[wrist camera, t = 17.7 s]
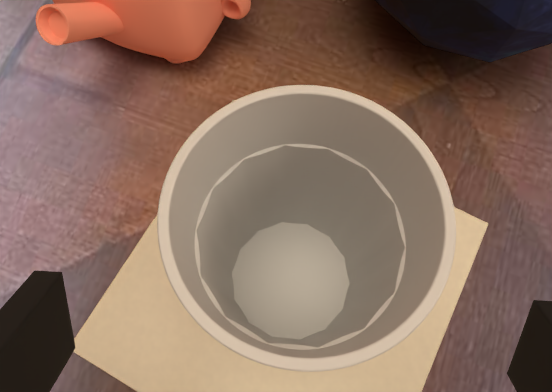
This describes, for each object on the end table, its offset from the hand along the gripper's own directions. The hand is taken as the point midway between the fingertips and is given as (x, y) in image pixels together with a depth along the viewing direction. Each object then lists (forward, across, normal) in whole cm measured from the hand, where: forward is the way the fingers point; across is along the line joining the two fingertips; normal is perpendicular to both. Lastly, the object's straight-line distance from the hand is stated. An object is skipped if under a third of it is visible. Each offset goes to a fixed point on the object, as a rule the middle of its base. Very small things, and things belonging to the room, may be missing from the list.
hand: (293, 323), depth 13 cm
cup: (+9, 0, -5) cm, 11 cm away
